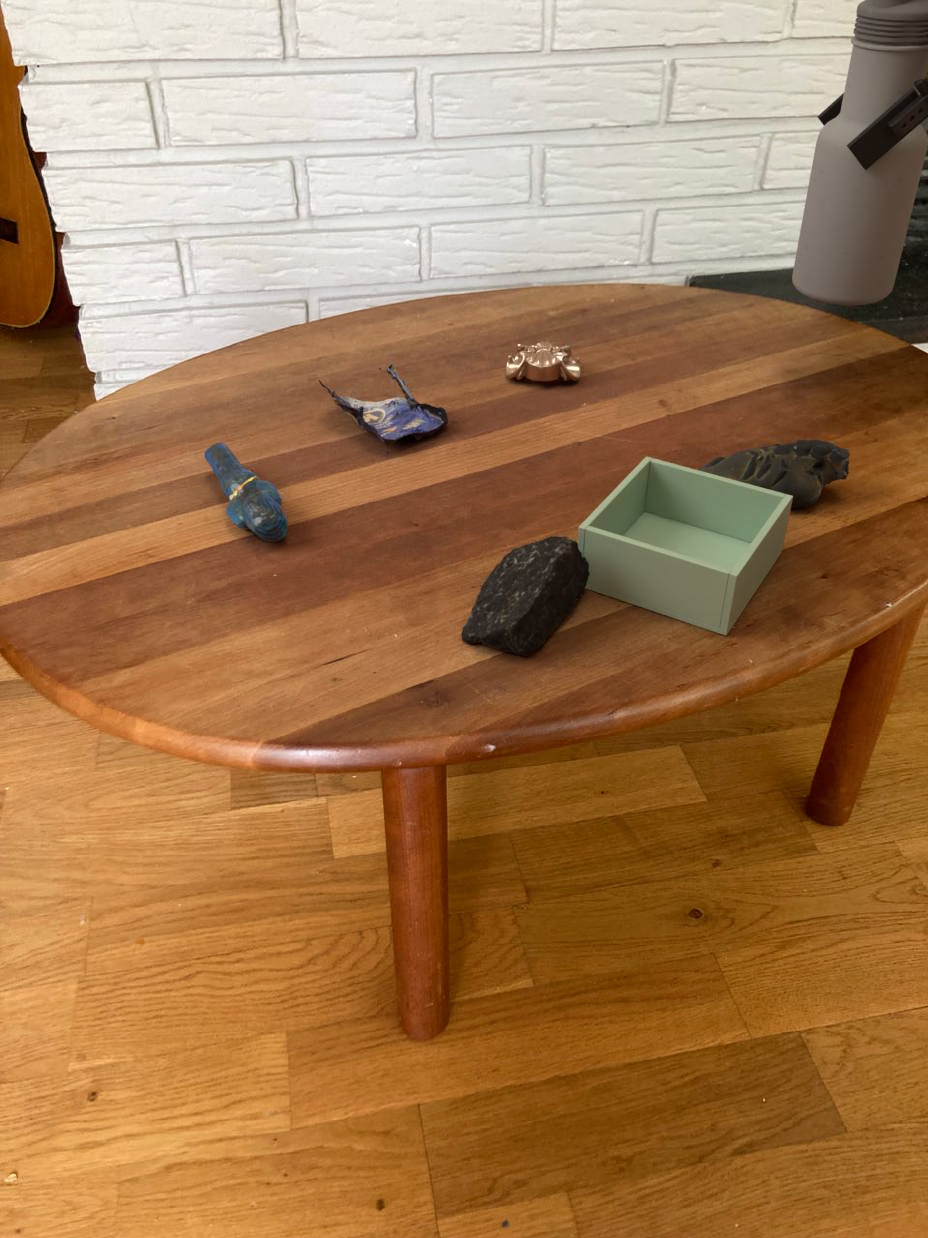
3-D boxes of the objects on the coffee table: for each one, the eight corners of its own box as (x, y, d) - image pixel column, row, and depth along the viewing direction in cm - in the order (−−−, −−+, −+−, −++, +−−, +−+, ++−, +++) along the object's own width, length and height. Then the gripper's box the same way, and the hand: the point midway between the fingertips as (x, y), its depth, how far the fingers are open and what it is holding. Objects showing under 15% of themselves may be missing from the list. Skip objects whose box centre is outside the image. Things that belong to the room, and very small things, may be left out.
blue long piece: (202, 481, 97) (261, 566, 87) (183, 451, 94) (242, 535, 85) (246, 455, 98) (309, 536, 88) (228, 424, 95) (292, 504, 85)
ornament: (580, 363, 115) (582, 331, 112) (579, 391, 109) (581, 358, 107) (508, 361, 115) (508, 329, 113) (503, 388, 110) (504, 356, 108)
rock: (448, 642, 77) (446, 578, 73) (507, 570, 84) (508, 509, 81) (535, 670, 74) (538, 605, 71) (588, 593, 82) (593, 530, 78)
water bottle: (831, 264, 110) (894, -48, 93) (913, 290, 104) (997, -39, 87) (770, 287, 105) (825, -37, 88) (853, 316, 99) (929, -27, 82)
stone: (685, 472, 96) (691, 420, 93) (833, 475, 95) (844, 422, 92) (691, 512, 91) (698, 458, 88) (848, 515, 90) (860, 461, 86)
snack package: (424, 392, 110) (315, 406, 107) (426, 338, 105) (312, 352, 102) (458, 461, 102) (342, 479, 99) (462, 407, 98) (340, 424, 95)
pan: (781, 553, 85) (793, 495, 82) (726, 636, 77) (737, 576, 74) (640, 511, 91) (646, 455, 87) (574, 585, 82) (578, 526, 79)
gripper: (996, -109, 94) (790, 85, 104) (1113, -90, 76) (849, 142, 86) (1037, -40, 97) (833, 141, 107) (1158, -6, 79) (899, 208, 89)
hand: (840, 142), depth 96 cm, fingers closed on water bottle, 10 cm apart
